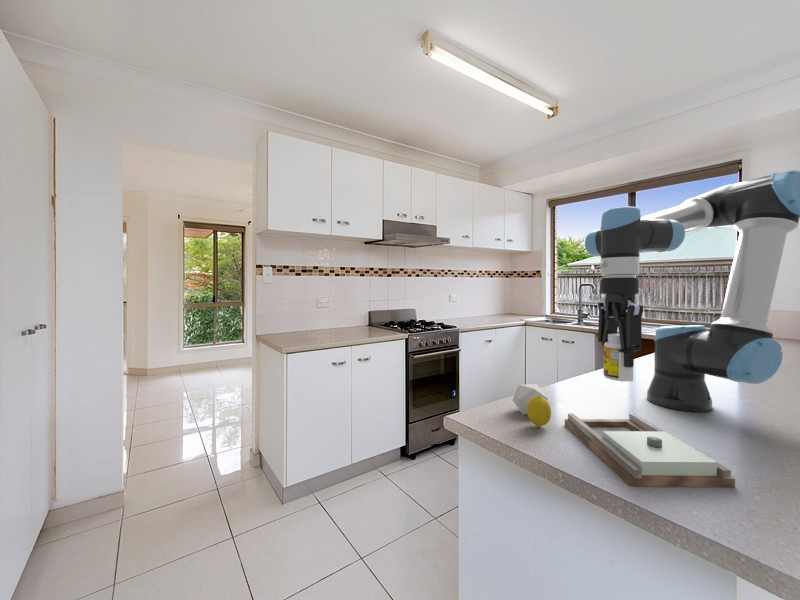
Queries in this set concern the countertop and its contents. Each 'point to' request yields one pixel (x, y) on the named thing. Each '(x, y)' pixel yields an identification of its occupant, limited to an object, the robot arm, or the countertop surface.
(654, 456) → the slide cover
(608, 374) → the supplement bottle
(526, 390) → the die
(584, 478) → the countertop surface
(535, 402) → the lemon
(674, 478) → the wooden sliding lid box
